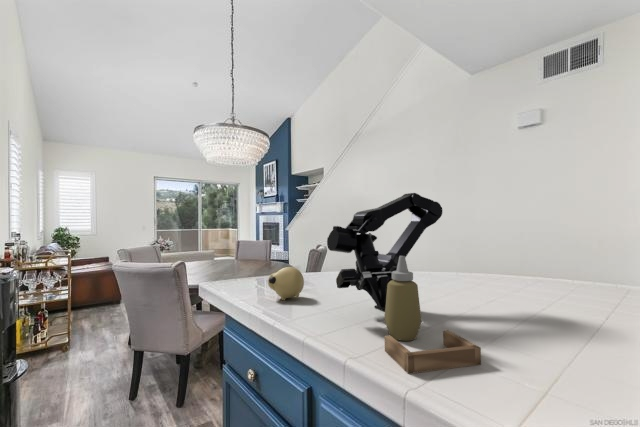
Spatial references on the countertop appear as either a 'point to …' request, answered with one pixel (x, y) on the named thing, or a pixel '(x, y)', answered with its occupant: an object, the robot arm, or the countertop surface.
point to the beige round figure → (287, 282)
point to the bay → (435, 354)
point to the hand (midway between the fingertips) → (381, 307)
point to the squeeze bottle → (402, 304)
